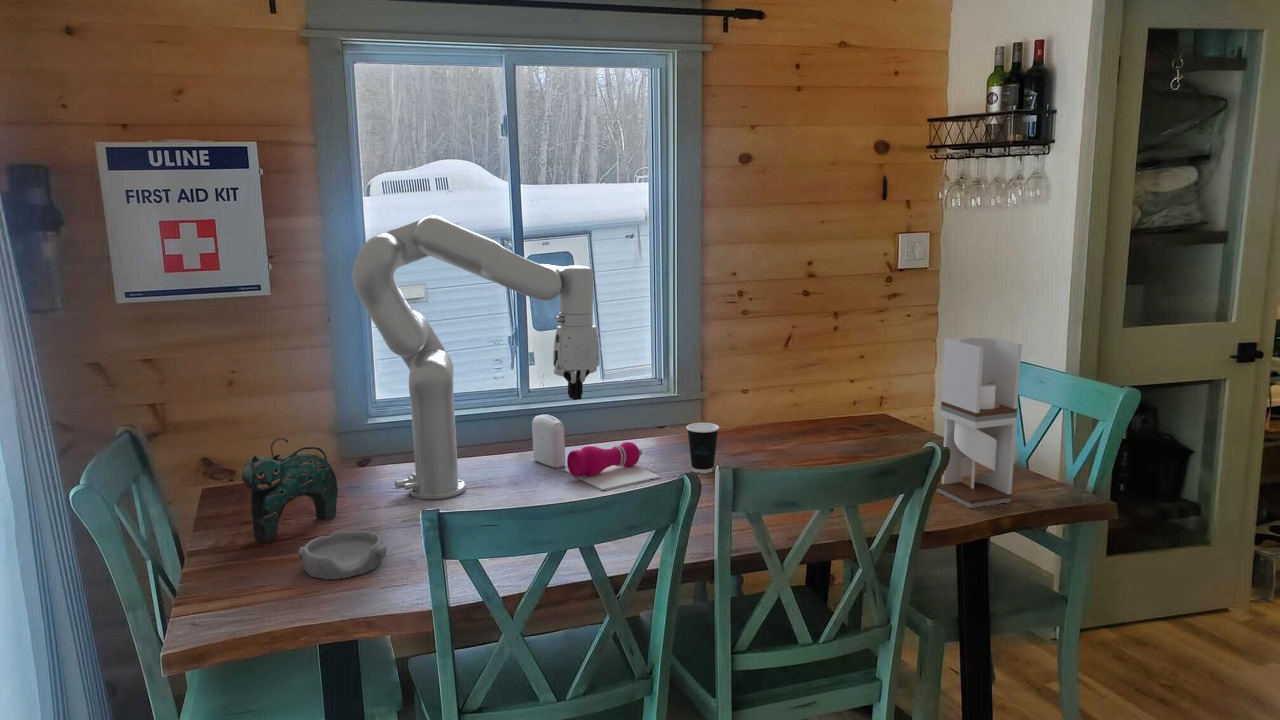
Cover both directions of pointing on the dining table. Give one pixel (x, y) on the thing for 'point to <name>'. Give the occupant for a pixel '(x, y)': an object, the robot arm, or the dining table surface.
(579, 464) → the pepper mill
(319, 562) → the dish
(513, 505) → the dining table surface
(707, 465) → the dixie cup
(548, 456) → the photo printer
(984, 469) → the architectural model tower
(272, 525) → the ceramic cat
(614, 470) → the mat
